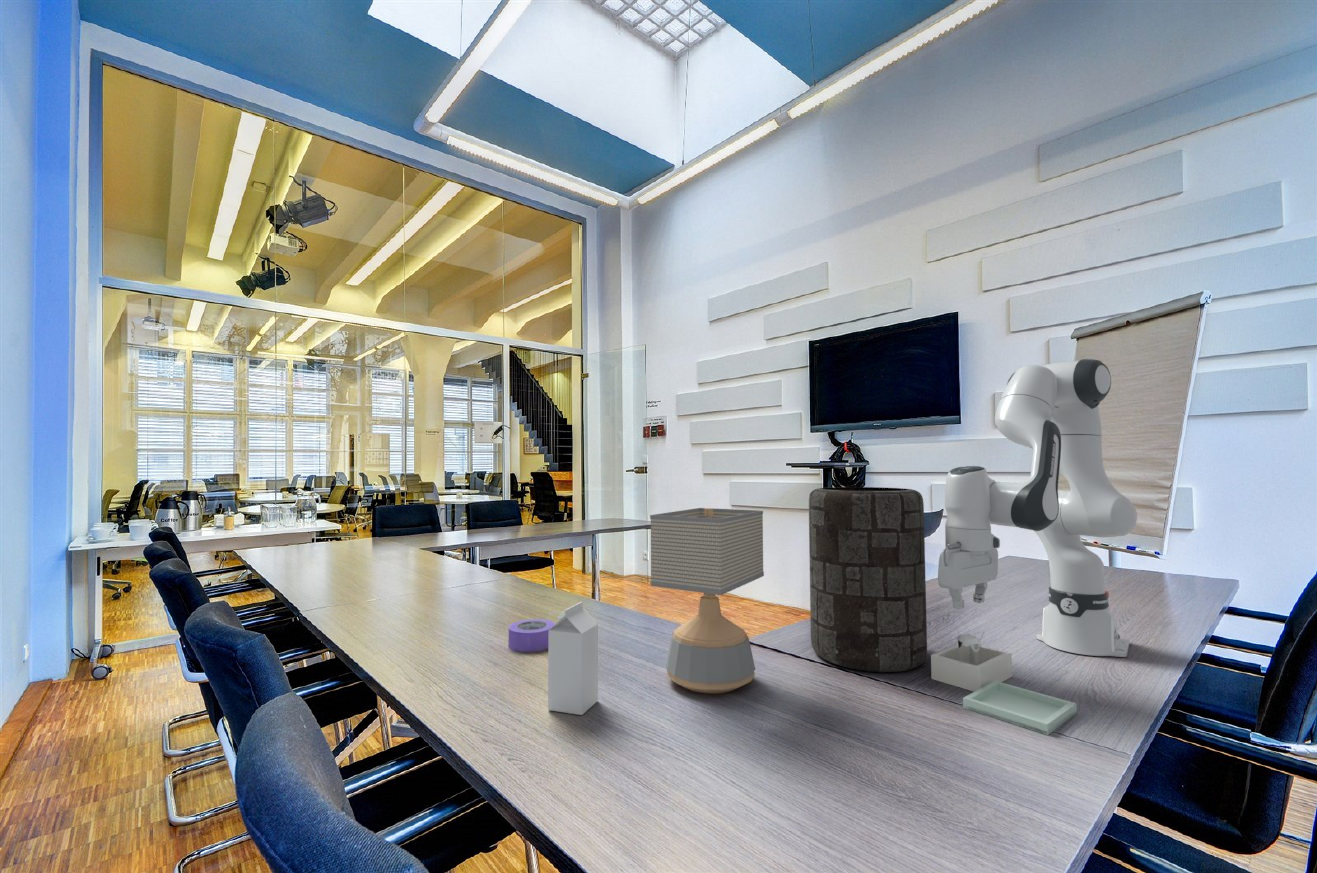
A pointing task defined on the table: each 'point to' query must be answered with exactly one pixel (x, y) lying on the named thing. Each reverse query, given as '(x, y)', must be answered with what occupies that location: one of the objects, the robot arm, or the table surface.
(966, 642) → the milkshake
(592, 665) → the milk carton
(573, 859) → the table surface
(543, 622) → the tape roll
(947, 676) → the frame
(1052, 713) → the tray
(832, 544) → the planter
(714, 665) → the desk lamp
